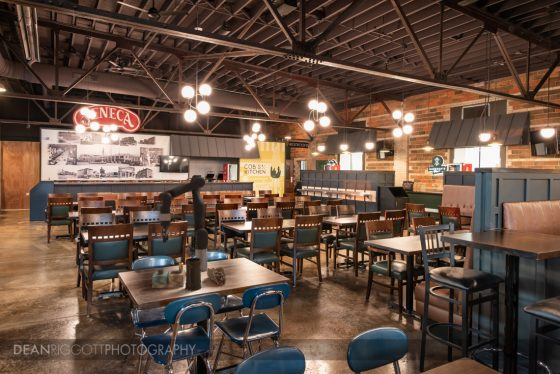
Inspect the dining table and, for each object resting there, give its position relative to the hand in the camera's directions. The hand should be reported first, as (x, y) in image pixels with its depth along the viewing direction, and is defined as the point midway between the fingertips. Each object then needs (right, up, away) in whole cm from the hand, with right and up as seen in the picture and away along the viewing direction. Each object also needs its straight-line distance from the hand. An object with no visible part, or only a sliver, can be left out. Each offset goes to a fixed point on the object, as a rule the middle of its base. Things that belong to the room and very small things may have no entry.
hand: (165, 241), depth 273 cm
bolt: (+13, -19, -16) cm, 28 cm away
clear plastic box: (+8, -27, -17) cm, 33 cm away
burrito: (+39, -28, -9) cm, 48 cm away
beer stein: (+27, -28, -28) cm, 48 cm away
